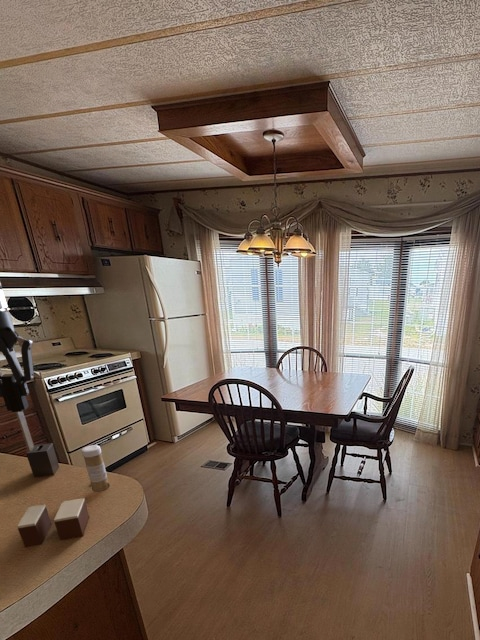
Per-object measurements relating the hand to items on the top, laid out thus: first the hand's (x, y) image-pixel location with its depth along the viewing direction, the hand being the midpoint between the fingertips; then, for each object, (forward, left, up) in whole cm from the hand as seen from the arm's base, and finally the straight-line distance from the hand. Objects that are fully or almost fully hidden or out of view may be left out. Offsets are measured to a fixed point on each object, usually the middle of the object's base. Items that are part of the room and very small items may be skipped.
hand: (18, 408), depth 86 cm
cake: (+18, +10, -27) cm, 34 cm away
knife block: (-14, -3, -27) cm, 31 cm away
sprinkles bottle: (-1, +13, -27) cm, 30 cm away
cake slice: (+18, +2, -27) cm, 32 cm away
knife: (0, 0, -11) cm, 11 cm away
